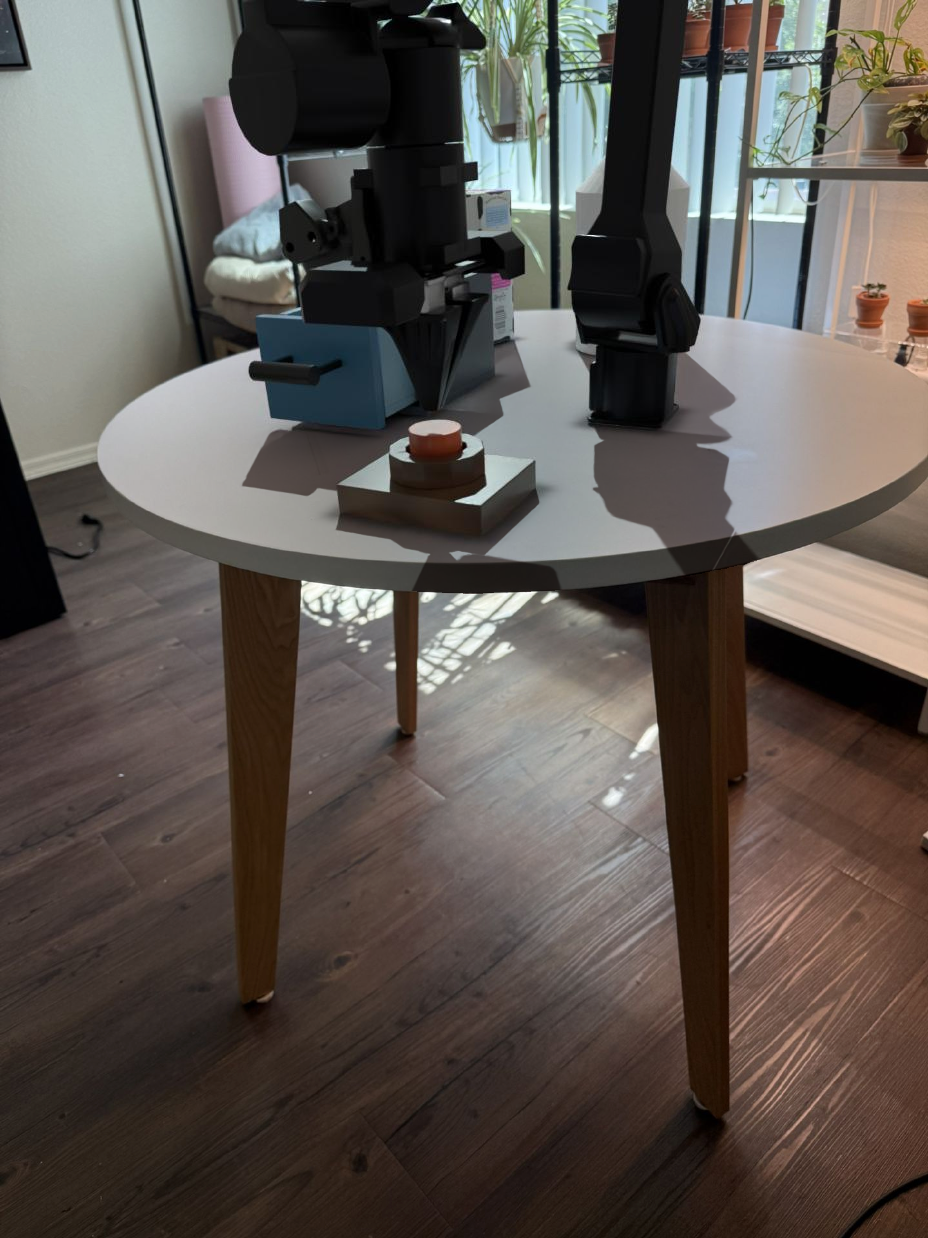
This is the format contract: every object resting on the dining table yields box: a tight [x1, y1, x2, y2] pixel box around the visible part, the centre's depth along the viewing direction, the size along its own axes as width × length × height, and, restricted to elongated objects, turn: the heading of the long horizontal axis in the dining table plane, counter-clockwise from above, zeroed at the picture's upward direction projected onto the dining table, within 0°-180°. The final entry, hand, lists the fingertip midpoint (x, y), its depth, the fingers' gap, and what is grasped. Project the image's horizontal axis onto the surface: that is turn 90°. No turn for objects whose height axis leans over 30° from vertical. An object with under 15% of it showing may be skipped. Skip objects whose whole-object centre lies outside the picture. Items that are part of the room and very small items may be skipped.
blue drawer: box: [247, 306, 419, 431], centre depth 77 cm, size 18×11×9 cm, turn 153°
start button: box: [407, 419, 463, 458], centre depth 60 cm, size 4×4×2 cm
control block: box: [335, 433, 537, 538], centre depth 61 cm, size 11×9×4 cm
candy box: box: [466, 188, 515, 345], centre depth 104 cm, size 14×6×16 cm, turn 48°
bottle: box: [575, 155, 691, 356], centre depth 94 cm, size 12×12×25 cm
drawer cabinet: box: [394, 273, 496, 417], centre depth 85 cm, size 15×13×11 cm
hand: (432, 410), depth 59 cm, fingers closed
